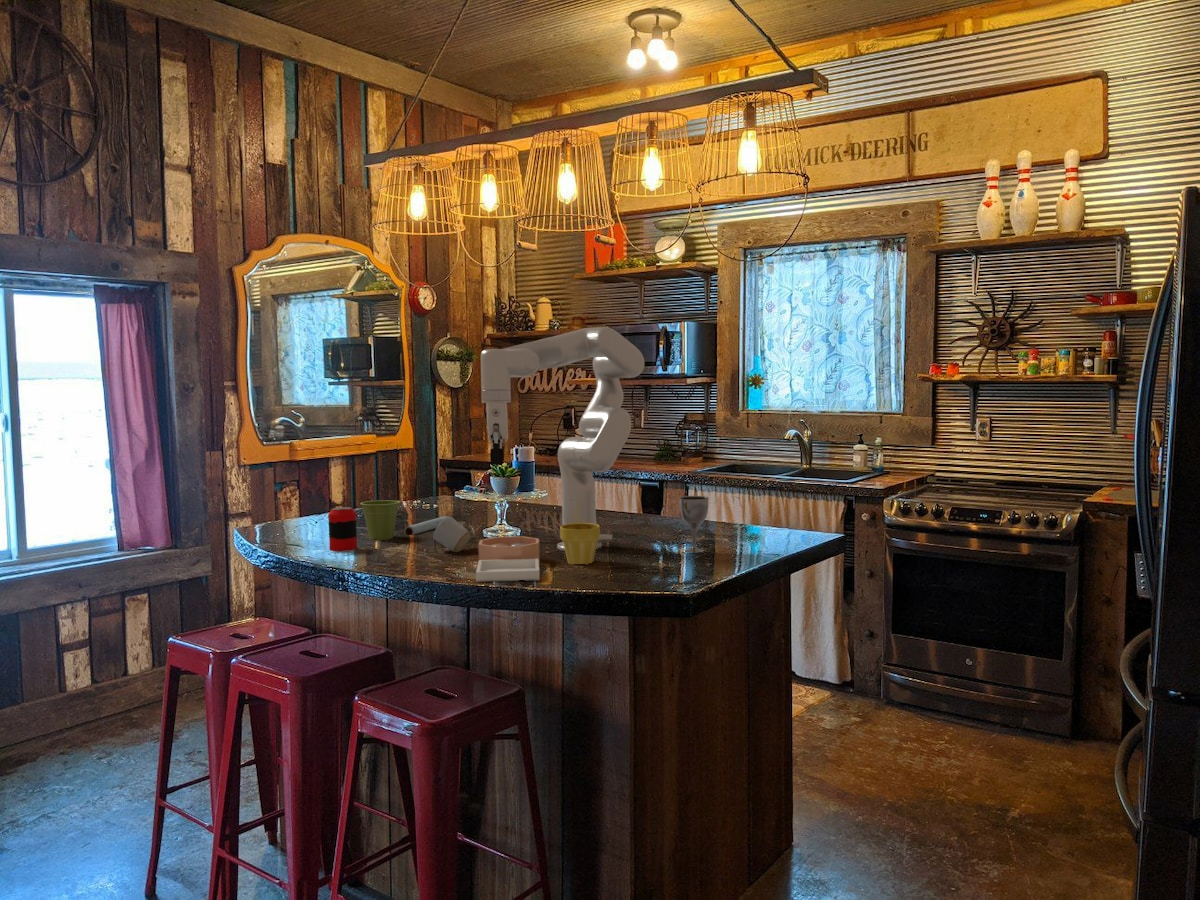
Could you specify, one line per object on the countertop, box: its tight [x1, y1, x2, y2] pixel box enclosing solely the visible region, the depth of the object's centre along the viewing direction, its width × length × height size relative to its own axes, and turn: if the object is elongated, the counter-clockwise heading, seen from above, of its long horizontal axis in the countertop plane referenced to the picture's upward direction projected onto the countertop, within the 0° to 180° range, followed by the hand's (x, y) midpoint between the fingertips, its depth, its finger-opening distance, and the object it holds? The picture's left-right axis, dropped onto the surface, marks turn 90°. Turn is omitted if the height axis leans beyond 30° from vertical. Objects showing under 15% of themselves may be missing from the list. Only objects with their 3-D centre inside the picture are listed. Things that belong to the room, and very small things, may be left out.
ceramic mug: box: [432, 516, 471, 553], centre depth 264 cm, size 11×8×8 cm
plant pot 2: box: [559, 523, 601, 565], centre depth 245 cm, size 10×10×10 cm
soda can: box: [328, 506, 358, 552], centre depth 268 cm, size 8×8×12 cm
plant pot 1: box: [359, 499, 401, 541], centre depth 286 cm, size 12×12×11 cm
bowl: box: [477, 535, 541, 564], centre depth 247 cm, size 16×16×6 cm
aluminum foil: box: [403, 515, 448, 536], centre depth 303 cm, size 23×7×3 cm, turn 159°
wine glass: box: [678, 495, 710, 553], centre depth 258 cm, size 8×8×15 cm
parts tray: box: [475, 559, 540, 583], centre depth 231 cm, size 15×15×2 cm
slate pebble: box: [511, 543, 527, 546], centre depth 248 cm, size 4×4×4 cm
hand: (497, 462), depth 245 cm, fingers open, 9 cm apart
